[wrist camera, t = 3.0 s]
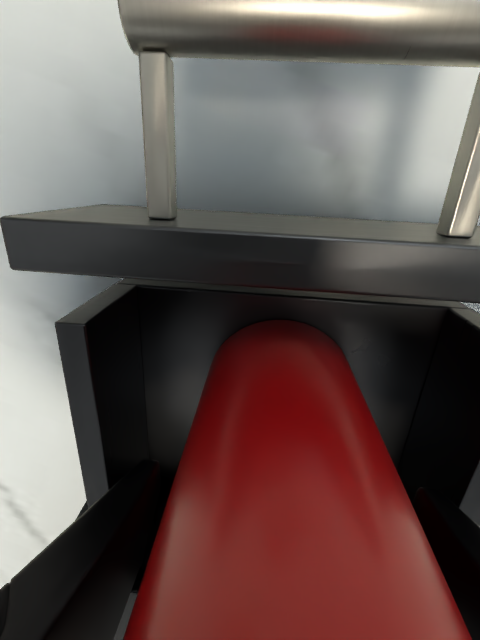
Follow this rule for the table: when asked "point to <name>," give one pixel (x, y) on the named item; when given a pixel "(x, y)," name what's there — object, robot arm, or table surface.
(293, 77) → the table surface
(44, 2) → the table surface
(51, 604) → the robot arm
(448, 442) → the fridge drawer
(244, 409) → the red can
